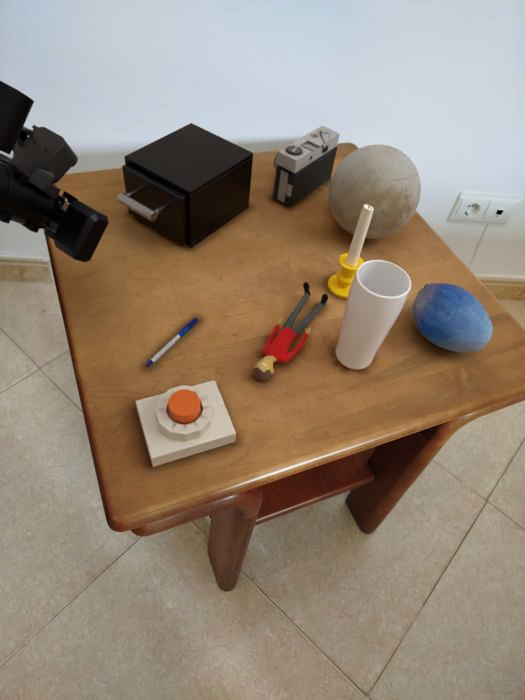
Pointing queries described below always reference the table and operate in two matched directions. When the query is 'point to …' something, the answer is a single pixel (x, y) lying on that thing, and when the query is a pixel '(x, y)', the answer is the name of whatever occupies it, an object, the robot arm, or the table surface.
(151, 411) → the button block
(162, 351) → the ballpoint pen
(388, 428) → the table surface
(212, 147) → the black cabinet
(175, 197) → the drawer
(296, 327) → the person figure
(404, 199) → the decorative sphere
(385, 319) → the drinking glass
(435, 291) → the egg
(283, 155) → the camera
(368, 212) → the candle
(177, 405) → the button
